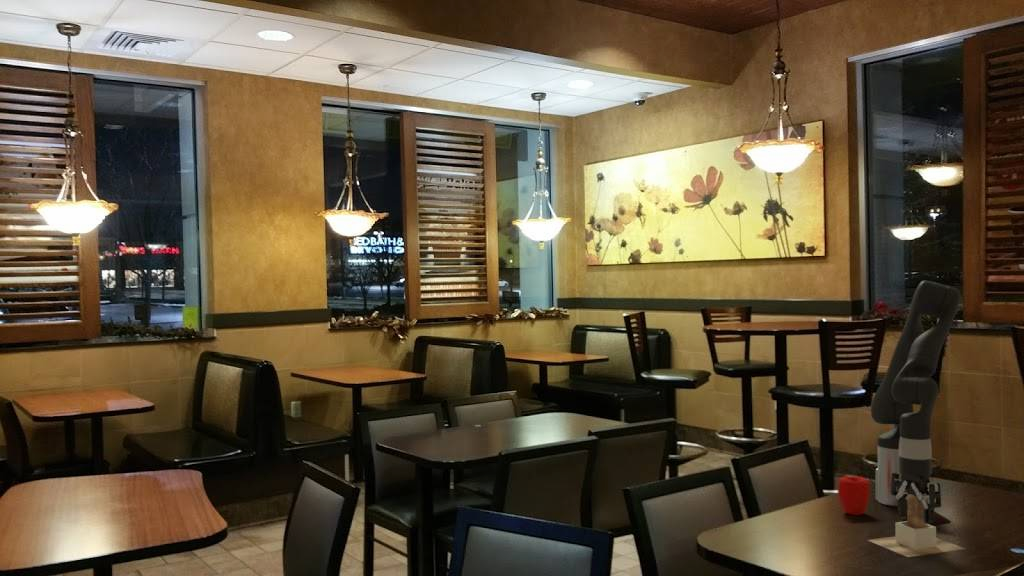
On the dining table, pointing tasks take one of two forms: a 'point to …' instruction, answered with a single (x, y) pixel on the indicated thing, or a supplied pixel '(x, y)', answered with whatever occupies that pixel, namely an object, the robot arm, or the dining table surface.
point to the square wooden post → (915, 512)
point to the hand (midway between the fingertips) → (915, 518)
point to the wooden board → (909, 552)
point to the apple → (854, 494)
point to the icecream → (937, 519)
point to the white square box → (915, 536)
